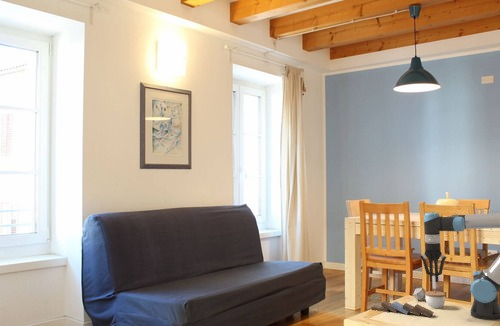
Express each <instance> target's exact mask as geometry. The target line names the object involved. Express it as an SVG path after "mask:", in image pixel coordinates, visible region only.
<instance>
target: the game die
mask: <svg viewBox="0 0 500 326" xmlns="http://www.w3.org/2000/svg"><path fill="white" fill-rule="evenodd" d="M425 292H427V290H426V289H424V288H423V287H416V286H415V287H414V291H413V294H412V295H411V296H413V297H414V298H415V299H416V300H417V302H420V301H424V302H426V298H425Z"/></svg>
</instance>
